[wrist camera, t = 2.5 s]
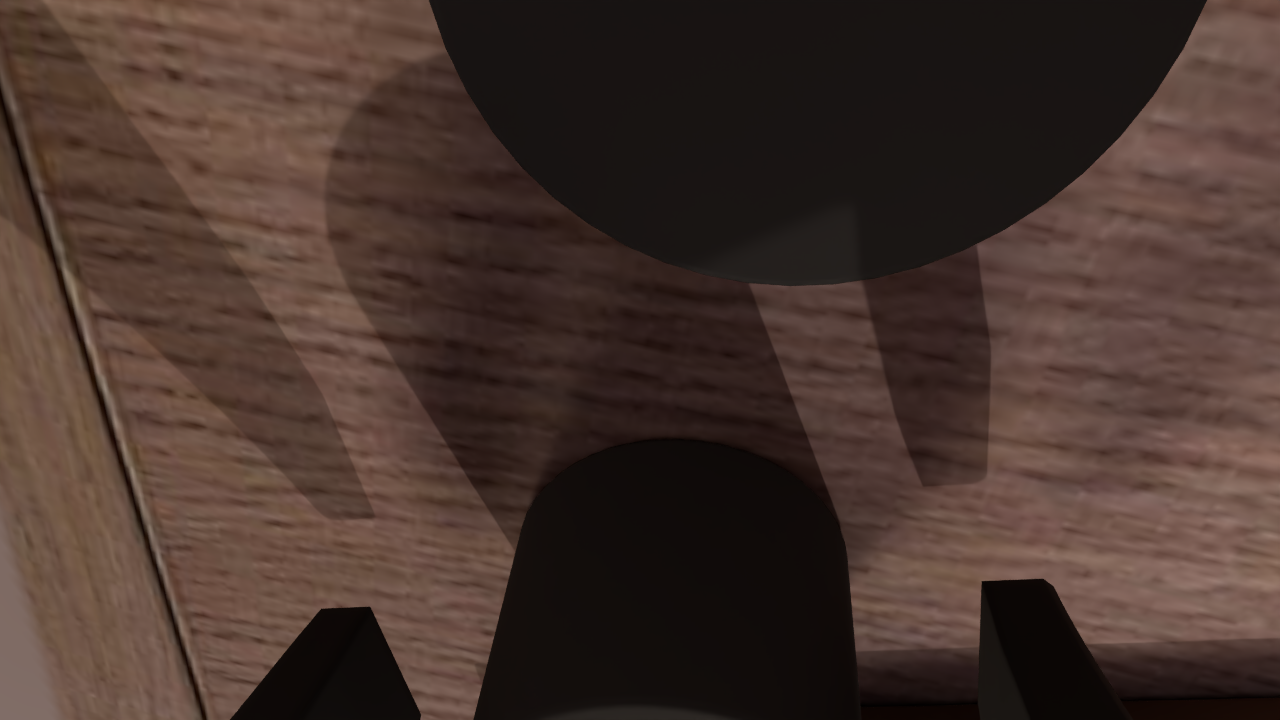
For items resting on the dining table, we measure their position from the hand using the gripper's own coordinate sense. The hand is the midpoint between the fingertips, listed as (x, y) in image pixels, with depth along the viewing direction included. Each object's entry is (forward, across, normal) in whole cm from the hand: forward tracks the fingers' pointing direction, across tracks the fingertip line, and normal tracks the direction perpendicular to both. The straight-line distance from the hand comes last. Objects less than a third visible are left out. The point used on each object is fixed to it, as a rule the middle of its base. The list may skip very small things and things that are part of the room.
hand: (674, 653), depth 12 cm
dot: (+1, 0, 0) cm, 1 cm away
